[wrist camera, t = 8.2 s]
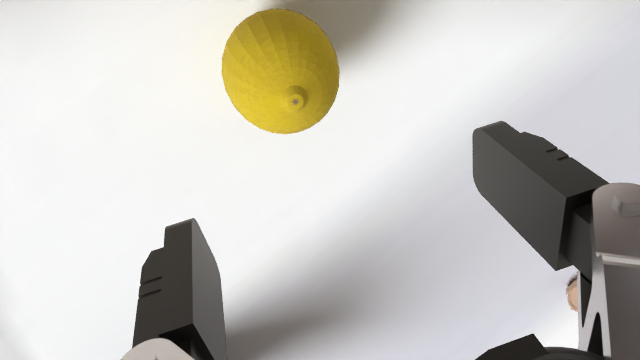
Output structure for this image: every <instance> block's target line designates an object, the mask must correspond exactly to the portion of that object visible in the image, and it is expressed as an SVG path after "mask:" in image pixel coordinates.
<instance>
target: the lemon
mask: <svg viewBox="0 0 640 360" xmlns="http://www.w3.org/2000/svg"><path fill="white" fill-rule="evenodd" d="M222 77H223V81H224V85H225V89H226V92H227V94H228V96H229V97H230V99H231V101H232V103H233V105H234V106H235V108H236V109H237V110H238V111H239V112H240V113H241V114H242V115H243V117H244V118H245V119H246V120H248V121H249V122H251V123H252V124H254V125H255V126H257V127H259V128H260V129H263V130H266V131H269V132H272V133H280V134H290V133H297V132H300V131H303V130H305V129H308V128H310V127H312V126H313V125H315V124H316V123H318V122H319V121H320V120H321V119H322V118H323V117H324V116H325V115H326V114H327V113H328V111H329V110H330V108H331V106H332V104H333V103H334V101H335V98H336V95H337V91H338V88H339V66H338V61H337V57H336V53H335V50H334V48H333V46H332V44H331V42H330V40H329V38H328V37H327V35H326V34H325V33H324V32H323V31H322V30H321V28H320V27H319V26H318V25H317V24H316V23H315V22H313V21H312V20H310V19H308V18H307V17H305V16H304V15H302V14H299V13H296V12H293V11H290V10H286V9H269V10H265V11H260V12H257V13H255V14H253V15H251V16H250V17H248V18H246V19H245V20H244V21H242V22H241V23H240V24H239V25H238V26H237V27H236V28H235V29H234V31H233V33H232V34H231V36H230V37H229V39H228V41H227V43H226V46H225V50H224V53H223V57H222Z"/></svg>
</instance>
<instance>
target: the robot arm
mask: <svg viewBox="0 0 640 360" xmlns="http://www.w3.org/2000/svg"><path fill="white" fill-rule="evenodd" d="M473 178H474V182H475V184H476V187H477V189H478V191H479V192H480V194H481V195H482V196H483V197H484V198H485V199H486V200H487V201H488V202H489V203H490V204H491V205H492V206H493V207H494V208H495V209H496V210H497V211H498V212H499V213H500V214H501V215H502V216H503V217H504V218H505V219H506V220H507V221H508V222H509V223H510V225H511V226H512V227H513V228H514V229H515V230H516V231H517V232H518V233H519V234H520V235H521V236H522V237H523V238H524V239H525V240H526V241H527V242H528V243H529V244H530V245H531V246H532V247H533V248H534V249H535V250H536V251H537V252H538V253H539V254H540V255H541V256H542V257H543V258H544V259H545V260H546V261H547V262H548V264H549V265H550V266H551V267H552V268H553V269H554V270H555V271H557V270H560V269H563V268H566V267H569V266H571V265H574V266H575V267H576V268H577V269H578V270H579V272H578V278H577V289H578V325H579V346H578V349H573V348H565V347H543V345H542V344H541V343H540V342H539V340H538V339H537V338H536V337H535V335H534V334H530V335H528V336H525V337H522V338H519V339H517V340H514V341H511V342H508V343H506V344H503V345H500V346H497V347H495V348H492V349H489V350H488V351H486V352H485V353H484V354H482V355H481V356H479V357H478V358H477V359H475V360H640V185H637V184H632V183H611V184H610V183H608V182H607V181H605V180H604V179H602V178H601V177H599V176H598V175H597V174H595V173H594V172H592V171H591V170H589V169H588V168H586V167H585V166H583V165H582V164H581V163H579V162H578V161H576V160H575V159H573V158H572V157H570V158H569V156H568V155H567V154H566V153H565V152H563V151H562V150H560V149H559V150H558V149H557V147H556V146H554V145H553V144H551V143H550V142H549V141H547V140H546V139H544V138H542V137H539V136H536V135H533V134H530V133H527V132H522V133H519V132H518V131H517V130H515V129H514V128H513V127H511V126H510V125H508V124H507V123H506V122H504V121H499V122H496V123H493V124H490V125H486V126H483V127H480V128H477V129H475V130H474V132H473ZM140 284H141V286H140V288H139V299H138V305H137V313H136V321H135V329H134V337H133V346H132V349H131V350H130V351H129V352H127V353H126V354H125V355H124V356H123V358H122V359H121V360H227V348H226V337H225V325H224V313H223V301H222V290H221V279H220V274H219V270H218V266H217V263H216V261H215V258H214V256H213V254H212V252H211V250H210V248H209V246H208V244H207V242H206V239H205V237H204V235H203V233H202V231H201V229H200V227H199V225H198V223H197V221H196V220H195V219H194V218H192V219H189V220H186V221H183V222H179V223H176V224H173V225H170V226H167V227H166V228H165V238H164V247H163V248H160V249H157V250H154V251H151V253H150V255H149V256H148V258H147V260H146V262H145V263H144V265H143V267H142V272H141V280H140Z"/></svg>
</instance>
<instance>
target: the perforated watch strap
mask: <svg viewBox="0 0 640 360" xmlns="http://www.w3.org/2000/svg"><path fill="white" fill-rule="evenodd" d="M566 292H567V293H566V294H568V303H569V305H570V307H571V309H572V310H575V311H577V312H578V289H577V279H576V280H575V281H574V282H573V283H572V284H571V285H570V286H569V287H567V289H566Z"/></svg>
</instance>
